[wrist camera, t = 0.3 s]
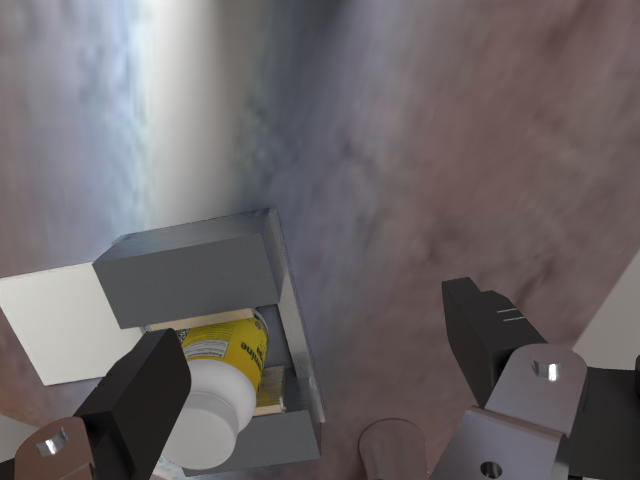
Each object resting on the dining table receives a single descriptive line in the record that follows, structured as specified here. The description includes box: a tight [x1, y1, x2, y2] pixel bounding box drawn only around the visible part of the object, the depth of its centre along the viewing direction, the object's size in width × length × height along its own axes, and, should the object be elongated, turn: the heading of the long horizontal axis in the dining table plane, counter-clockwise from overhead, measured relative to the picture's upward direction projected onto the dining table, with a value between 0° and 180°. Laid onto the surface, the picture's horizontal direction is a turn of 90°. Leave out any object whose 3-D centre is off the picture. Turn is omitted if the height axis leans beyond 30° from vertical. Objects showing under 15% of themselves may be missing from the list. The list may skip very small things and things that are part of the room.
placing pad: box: [0, 262, 146, 386], centre depth 34 cm, size 10×10×1 cm
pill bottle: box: [161, 310, 269, 470], centre depth 29 cm, size 6×6×11 cm
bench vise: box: [92, 207, 326, 477], centre depth 32 cm, size 19×12×5 cm, turn 11°
